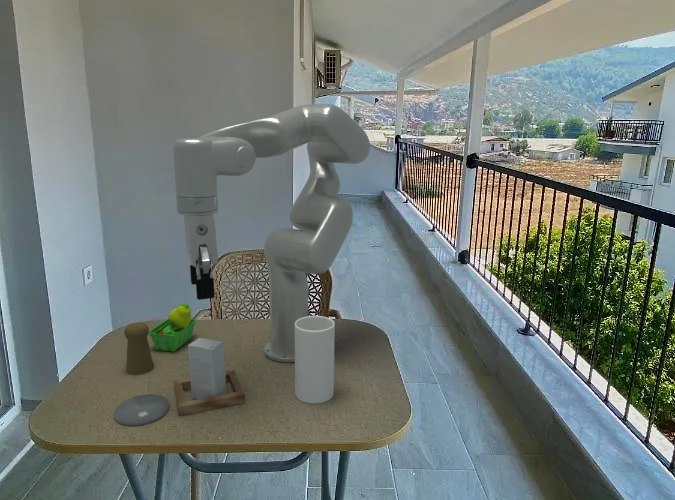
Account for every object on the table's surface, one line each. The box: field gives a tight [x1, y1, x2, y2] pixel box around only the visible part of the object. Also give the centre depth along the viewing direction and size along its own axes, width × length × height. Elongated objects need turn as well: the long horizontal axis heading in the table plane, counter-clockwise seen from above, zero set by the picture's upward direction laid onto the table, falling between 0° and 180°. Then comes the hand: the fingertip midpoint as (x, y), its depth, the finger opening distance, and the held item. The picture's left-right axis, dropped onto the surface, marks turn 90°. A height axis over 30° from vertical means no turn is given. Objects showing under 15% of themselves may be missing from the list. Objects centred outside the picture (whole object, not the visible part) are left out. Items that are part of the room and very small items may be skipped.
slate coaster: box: [113, 393, 170, 427], centre depth 95 cm, size 10×10×1 cm
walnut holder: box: [173, 369, 246, 417], centre depth 101 cm, size 13×11×2 cm
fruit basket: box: [148, 302, 197, 352], centre depth 124 cm, size 11×9×11 cm
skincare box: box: [187, 337, 227, 400], centre depth 100 cm, size 6×4×12 cm
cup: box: [294, 315, 336, 404], centre depth 101 cm, size 8×8×16 cm
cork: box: [124, 321, 155, 376], centre depth 111 cm, size 6×6×11 cm
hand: (202, 290), depth 96 cm, fingers open, 9 cm apart
